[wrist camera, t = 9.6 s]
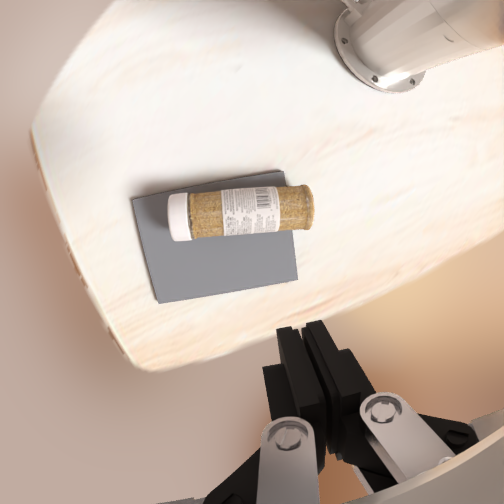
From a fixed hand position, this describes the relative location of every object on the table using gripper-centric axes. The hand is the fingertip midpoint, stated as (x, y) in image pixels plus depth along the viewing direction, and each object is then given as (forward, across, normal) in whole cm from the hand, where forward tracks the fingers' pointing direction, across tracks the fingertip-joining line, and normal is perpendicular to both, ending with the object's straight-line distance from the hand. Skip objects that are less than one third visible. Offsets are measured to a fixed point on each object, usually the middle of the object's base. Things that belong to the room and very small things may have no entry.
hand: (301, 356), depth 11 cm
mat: (+22, +4, +1) cm, 23 cm away
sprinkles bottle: (+20, -6, -2) cm, 21 cm away
